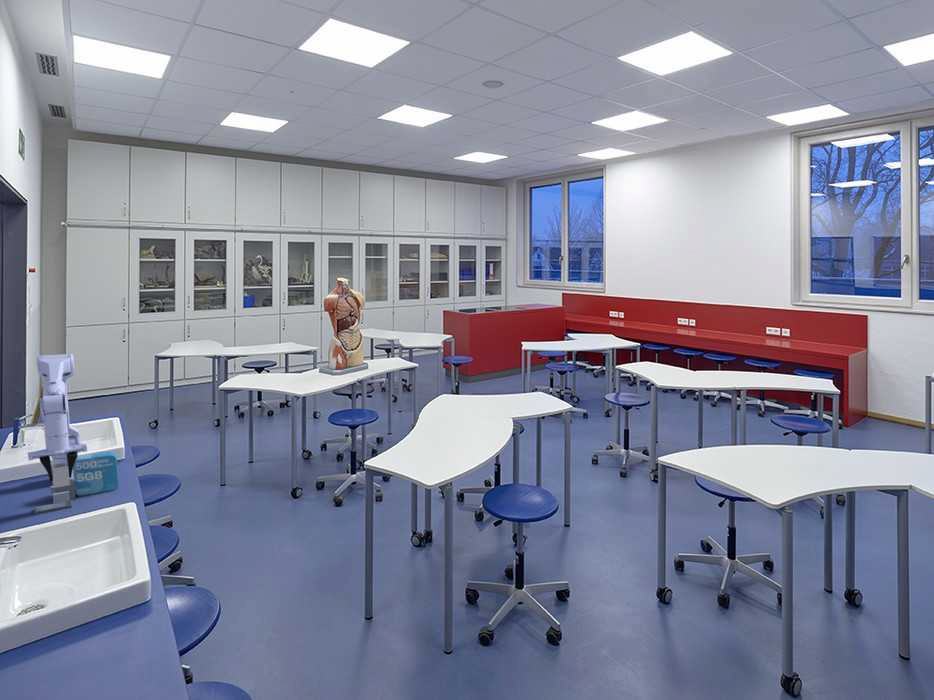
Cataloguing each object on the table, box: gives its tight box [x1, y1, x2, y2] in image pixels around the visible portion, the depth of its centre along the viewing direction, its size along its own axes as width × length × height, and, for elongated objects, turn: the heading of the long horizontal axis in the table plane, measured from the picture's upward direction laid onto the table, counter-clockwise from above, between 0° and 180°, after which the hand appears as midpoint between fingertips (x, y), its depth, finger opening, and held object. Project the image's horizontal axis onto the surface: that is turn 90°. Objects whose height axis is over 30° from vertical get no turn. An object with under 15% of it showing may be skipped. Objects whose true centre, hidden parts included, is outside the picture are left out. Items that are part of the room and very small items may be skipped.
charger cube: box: [55, 479, 76, 500], centre depth 187 cm, size 5×5×5 cm
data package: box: [73, 451, 119, 497], centre depth 192 cm, size 12×4×12 cm, turn 121°
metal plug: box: [51, 463, 70, 488], centre depth 179 cm, size 4×4×6 cm
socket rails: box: [49, 485, 71, 504], centre depth 187 cm, size 9×4×3 cm, turn 39°
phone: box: [33, 500, 73, 516], centre depth 179 cm, size 5×9×1 cm, turn 127°
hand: (60, 478), depth 179 cm, fingers closed on metal plug, 4 cm apart
